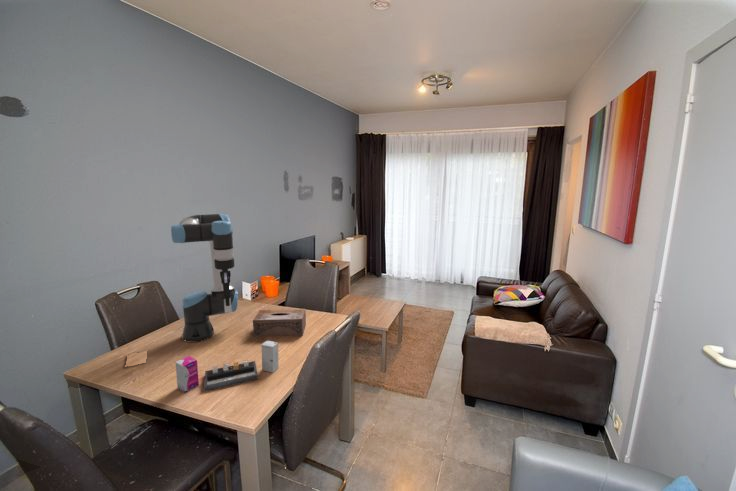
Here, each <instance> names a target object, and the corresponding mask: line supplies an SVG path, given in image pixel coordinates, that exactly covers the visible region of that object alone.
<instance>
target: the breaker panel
mask: <svg viewBox="0 0 736 491" xmlns="http://www.w3.org/2000/svg"><path fill="white" fill-rule="evenodd" d="M242 362H243V363H239V362H238V361H236V362H233V365H229V363H224V364H222V367H220V368H218V365H215V366H214V365H213V366H212V369H209V370H205V373H204V383H203V384H204V385H203V388H204V392H209V391H213V390H217V389H222V388H226V387H231V386H236V385H239V384H243V383H244V384H245V383H249V382H252V381H256V380H259V375H258V368H257V365H256V361H255V360H254V361H253V360H252V361H249V359H244V360H242Z"/></svg>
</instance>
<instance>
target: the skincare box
mask: <svg viewBox="0 0 736 491" xmlns="http://www.w3.org/2000/svg"><path fill="white" fill-rule="evenodd" d="M279 366H280V365H279V342H276V341H272V340H266V341H264V342H262V344H261V369H262V371H266V372H268V373H274V372H276V371H277V370H278V369H279Z"/></svg>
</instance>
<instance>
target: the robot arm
mask: <svg viewBox="0 0 736 491" xmlns="http://www.w3.org/2000/svg"><path fill="white" fill-rule="evenodd" d="M232 226H233V225H232V222H231V218H230V215H228V214H224V213H213V214H195V215H191V216H188V217H185V218H182V220H180V221H179V223H178V224H173V225H171V227H170V232H171V240H172V243H173V244H174V243H175V244H185V243H186V244H187V243H197V242H209V245H210V246H209V247H210V256H211V258H210V259H211V269H212V277H213V278H212V279H213V288H212V289H211V292H210V293H208V292H207V291H205V290H203V291H201V290H200V291H195V292H192V293H190V294H187V295H185V297H183V299H182V309H183V317H184V318H183V320H184V327H183V330H182V334H181V337H182V338H183V339H182V341H183V340H186V341H198V342H202V341H201V340H203V341H205V340H204V339H206V340H207V338H208V339H210V338H211V336H212V337H213V336H214V335H213V334H215V330H214V327H213V325H212V323H211V321H210V317H211V316H218V315H223V314H225V315H226V314H230V313H234V312H236V311H237V310H238V303H239V293H238V290H237V289H235V287H234V286H233V285H232V279H231V277H232V276H231V275H232V274H231V269H233V268H234V267H235V258H234V257H235V252H234V249H235V248H234V245H233V244H234V243H233V234H234V233H233V227H232Z"/></svg>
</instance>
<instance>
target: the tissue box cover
mask: <svg viewBox="0 0 736 491" xmlns="http://www.w3.org/2000/svg"><path fill="white" fill-rule="evenodd" d="M306 317H307V313H306V308H291V309H290V308H288V309H287V308H286V309H285V308H283V309H259V310H258V312H257V313H256V315H255V316H254V318H253V319H252V330H253V338H277V337H278V338H279V337H282V338H283V337H303V336H304V333H305V329H306V325H307V320H306V319H307V318H306Z"/></svg>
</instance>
